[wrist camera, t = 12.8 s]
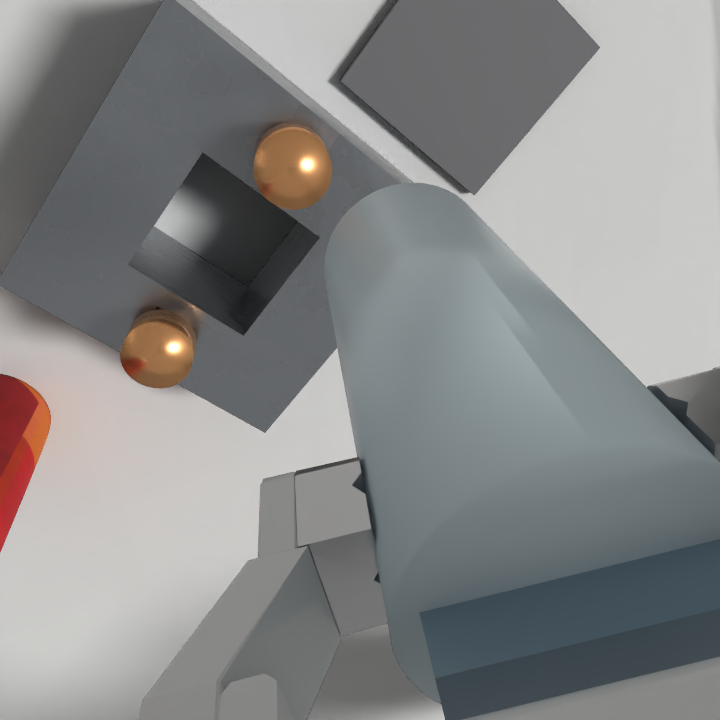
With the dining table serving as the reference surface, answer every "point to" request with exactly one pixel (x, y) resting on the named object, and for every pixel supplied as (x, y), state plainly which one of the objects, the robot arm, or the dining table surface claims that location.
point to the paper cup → (18, 444)
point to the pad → (469, 76)
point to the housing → (156, 189)
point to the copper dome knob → (292, 166)
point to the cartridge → (512, 469)
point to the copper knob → (158, 349)
